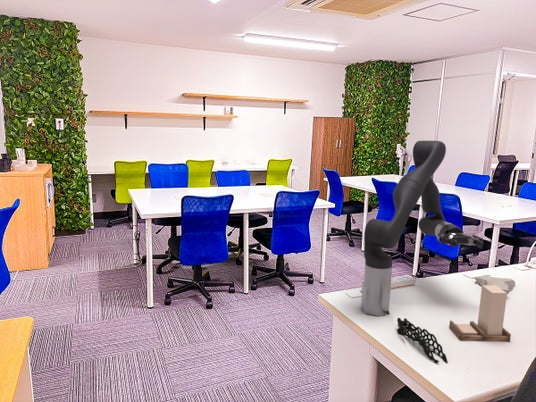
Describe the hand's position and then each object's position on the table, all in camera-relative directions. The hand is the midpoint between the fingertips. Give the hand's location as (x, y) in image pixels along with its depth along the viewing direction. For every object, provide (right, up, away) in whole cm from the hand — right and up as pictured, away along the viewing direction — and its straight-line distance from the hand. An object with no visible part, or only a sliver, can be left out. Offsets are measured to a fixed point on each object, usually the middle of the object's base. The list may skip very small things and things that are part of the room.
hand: (469, 245), depth 135 cm
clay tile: (-6, -27, -9) cm, 29 cm away
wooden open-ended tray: (-2, -28, -10) cm, 30 cm away
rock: (+26, -21, +31) cm, 46 cm away
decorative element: (-23, -29, -15) cm, 40 cm away
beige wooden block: (+1, -27, -10) cm, 29 cm away
